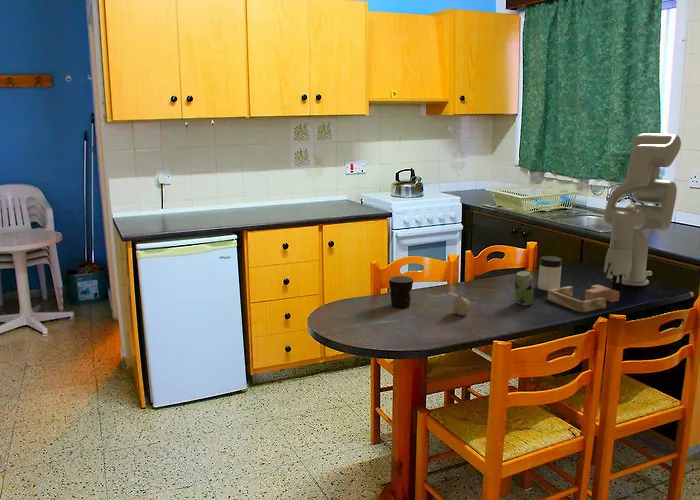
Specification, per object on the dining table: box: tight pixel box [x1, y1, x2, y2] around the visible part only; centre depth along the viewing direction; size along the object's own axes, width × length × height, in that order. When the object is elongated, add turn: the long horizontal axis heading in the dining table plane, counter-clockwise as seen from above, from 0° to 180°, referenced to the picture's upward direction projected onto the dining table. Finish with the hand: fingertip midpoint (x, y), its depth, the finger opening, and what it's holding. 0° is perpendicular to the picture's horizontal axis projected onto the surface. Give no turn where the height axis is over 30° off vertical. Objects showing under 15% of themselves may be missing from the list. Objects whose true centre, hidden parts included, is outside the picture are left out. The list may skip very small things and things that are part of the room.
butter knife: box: [447, 291, 469, 301], centre depth 236 cm, size 1×24×3 cm
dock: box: [546, 285, 607, 313], centre depth 232 cm, size 12×17×4 cm
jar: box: [537, 255, 563, 292], centre depth 250 cm, size 9×8×12 cm
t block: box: [584, 284, 620, 303], centre depth 238 cm, size 10×10×4 cm
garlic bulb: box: [451, 294, 471, 317], centre depth 220 cm, size 7×6×8 cm
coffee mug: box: [388, 275, 414, 310], centre depth 228 cm, size 12×9×10 cm
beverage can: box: [514, 270, 534, 306], centre depth 231 cm, size 6×7×12 cm
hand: (616, 292), depth 242 cm, fingers closed
